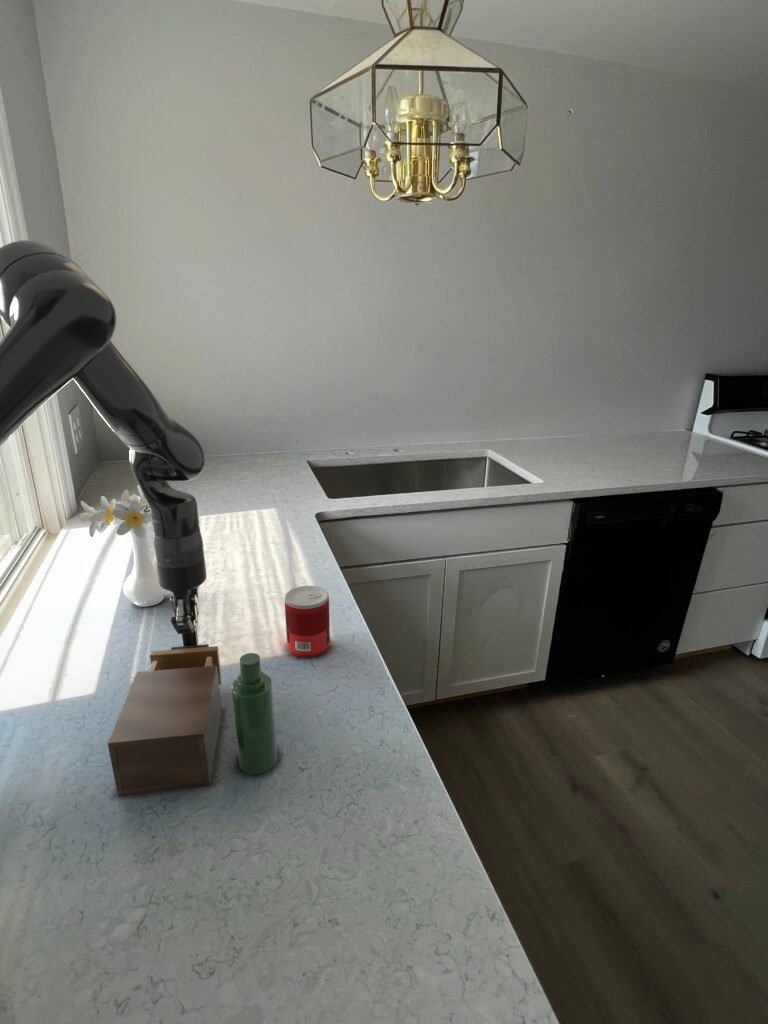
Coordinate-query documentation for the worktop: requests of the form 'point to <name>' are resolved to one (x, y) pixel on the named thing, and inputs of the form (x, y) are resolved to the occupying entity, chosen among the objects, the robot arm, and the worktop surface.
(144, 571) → the flower vase
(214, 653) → the drawer
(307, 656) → the canned food
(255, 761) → the bottle
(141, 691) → the cabinet
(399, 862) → the worktop surface
